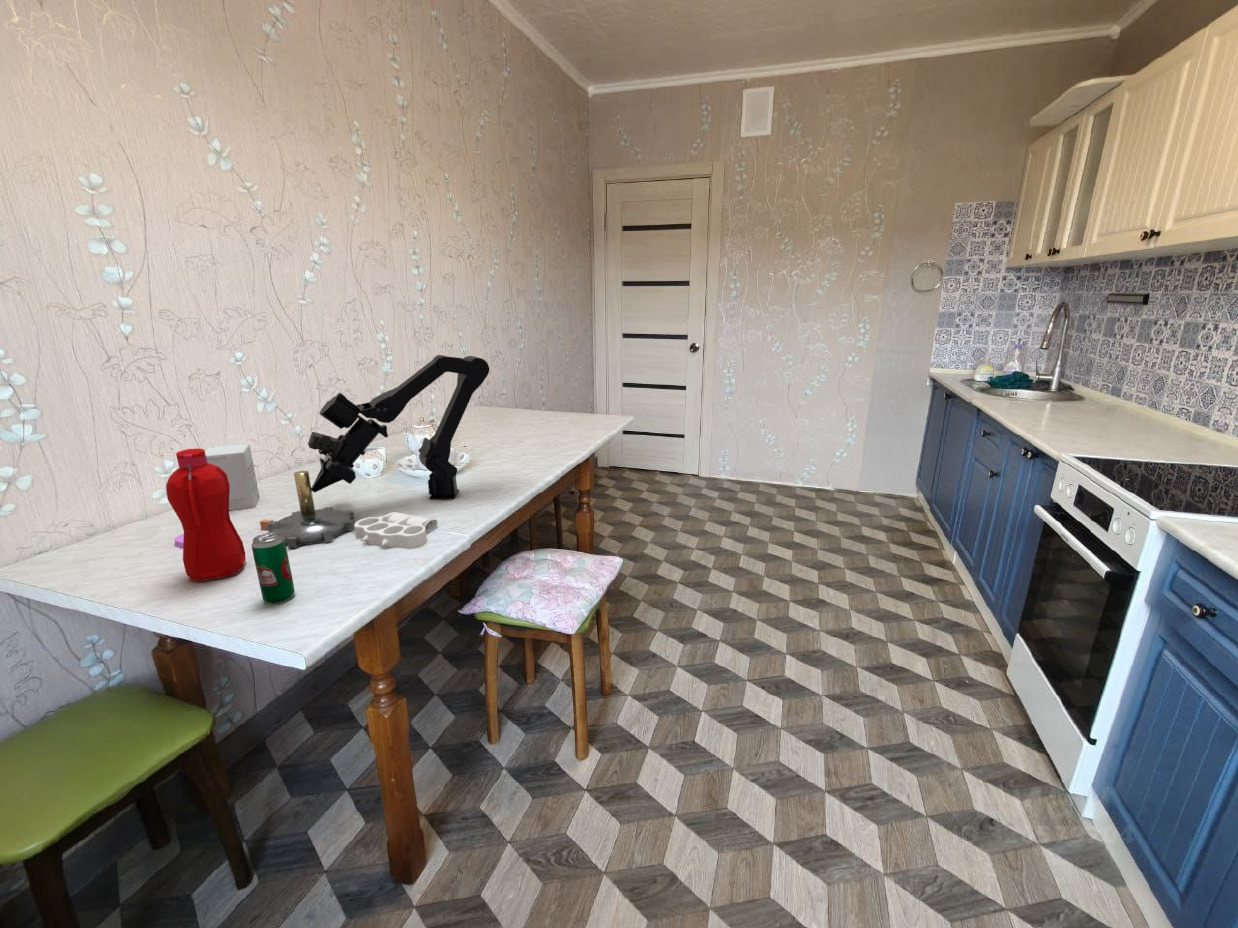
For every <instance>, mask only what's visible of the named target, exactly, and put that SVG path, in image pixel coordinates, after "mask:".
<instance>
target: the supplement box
mask: <svg viewBox="0 0 1238 928" xmlns="http://www.w3.org/2000/svg"><path fill="white" fill-rule="evenodd" d="M251 449H252V448H251V444H250V443H244V444H231V445H230V444H229V445H222V446H221V445H220V446H211V447H208V449H207V450H206V451H205V454H206V459H207V463H210V464H213V465H216V466H218V467H220V468H221V469H222V470H223V471H224V472H225V473H226V475H227V478H228V481H229V485H230V493H229V511H235V510H245V509H252V508H253V509H254V508H256V505H257V504H258V502H259V499H260V493H259V492H260V491H259V488H258V481H257V478H256V477H257V476H256V472H255V471H256V470H255V466H254V461H253V455H252V451H251Z"/></svg>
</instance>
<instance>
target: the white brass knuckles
mask: <svg viewBox="0 0 1238 928" xmlns="http://www.w3.org/2000/svg"><path fill="white" fill-rule="evenodd" d="M437 526H438V520H437V519H435V518H432V517H424V516H418V515H415V514H407V513H402V512H399V511H398V512H397V511H392V512H389V513H387V514H385V515H382V516H371V517H365V518H361V519H359V520H357V521H356V522H355V524H354V533H355V538H356V539H360V542H363V543H364V542H365V543H366V544H368V545H372V546H373V545H374V546H375V545H376V546H380V547H381V548H405V549H414V548H418V547H421V546H423V545H425V544H426V543H427V542H428V538H427V533H430V532H432V531H434V530H435V529H436V528H437Z"/></svg>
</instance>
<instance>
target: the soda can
mask: <svg viewBox="0 0 1238 928" xmlns="http://www.w3.org/2000/svg"><path fill="white" fill-rule="evenodd" d="M268 532H269V531H268ZM268 532H264V533H261V534H259V535H256V536H255V537H253V539H252V544H251V551H252V554H253V559H254V563H255V564H254V565H255V570H256V574H257V579H258V583H259V588H260V592H261V593H260V594H261V598H262V600H263V601H264V602H266V603H268V604H278V603H279V604H280V603H283V602H285V601H287V600H290V598H291V597H292V596H294V594H295V592H296V589H295V586H294V579H293V574H292V568H291V565H290V560H289V554H288V549H287V548H288V547H287V545H286V543H285V539H284V538H283V537H282V536H281V533H278V532H269V533H268Z"/></svg>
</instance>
